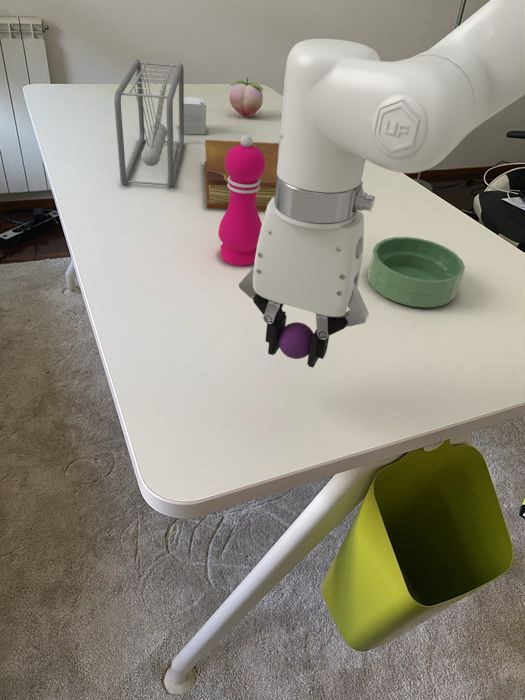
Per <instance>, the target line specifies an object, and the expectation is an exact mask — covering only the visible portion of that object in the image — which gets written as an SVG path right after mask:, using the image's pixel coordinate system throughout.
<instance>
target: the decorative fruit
mask: <svg viewBox="0 0 525 700" xmlns="http://www.w3.org/2000/svg"><path fill="white" fill-rule="evenodd" d="M230 87H232V88H231V89H230V92H229V103H230V105H231V107H232V108H233V109H234V110H235V111H236V112H237V113H238V114H240V115H241V116H243V117H245V118H246V117H249V116H251V115H254V114H256V113H257V112H258V111H259V110H260V109H261V107H262V105H263V101H264V100H263V99H264V96H263V95H264V94H263V92H262V91H264V89H263V87H262V86H261V85H260V84H259V83H258V82H253V81H251V82H250V81H249V78H248V77H246V81H244V80H237V81H234V82H232V83H231V84H230Z"/></svg>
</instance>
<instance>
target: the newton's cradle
mask: <svg viewBox="0 0 525 700" xmlns="http://www.w3.org/2000/svg"><path fill="white" fill-rule="evenodd" d="M142 65H143V66H142ZM147 65H149V66H161V67H170V68H169V69H168V70H163V69H159V71H160V72H167V74H165V79H162V78H156V80H158V81H163V83H157V85H159V86H161V89H160V88H153V90H158V91H159V95H157V94H151V88H150V85H153V83H152V82H151V83H150V82H149V80H152V78H148V76H147V75H149V73H147V71H146V70H149V71H154V69H153V68H152V69H151V68H146V67H147ZM173 68H176V70H175V73H174V75H173V78H172V81H171V84H170V86H169V90H168V93H167V95H166V90H167V83H168V81H169V77H170V75H171V72H172V69H173ZM143 72H144V73H143ZM135 73H136V78H135V80H134V82H133V84H132V86H131V88H130V89H129V92H125V90H126V89H127V87H128V85H129V83H130V81H131V80H132V78H133V77H134V75H135ZM184 74H185V73H184V65H183V63H182V62H179V63H178V64H172V63H171V64H170V63H158V62H147V61H146V62H145V61H140V59H135V60H134V62H133V63H132V65H131V67H130V68H129V69H128V70H127V73H126V75H125V76H124V77H123V79H122V81H121V82H120V84H119V85H118V88H117V89H116V91H115V94H114V98H113V99H114V101H113V102H114V115H115V126H116V127H115V129H116V139H117V140H116V141H117V142H116V143H117V153H118V154H117V155H118V164H119V165H118V166H119V175H120V176H119V177H120V178H119V179H120V182H121V184H122V185H123V186H127V185H128V184H140V185H153V186H154V185H156V186H168V188H170V189H175V187H176V182H177V176H178V171H179V168H180V167H179V166H180V162H181V157H182V153H183V148H184V143H185V134H184V97H185V92H184V91H185V88H184V86H185V84H184V83H185V81H184V80H185V79H184V78H185V77H184V76H185V75H184ZM144 75H145V77H144ZM153 75H157V76H161V74H158V73H153ZM145 79H146V81H145ZM146 84H147V86H148V87H147V86H146ZM143 85H144V87H143ZM177 89H178V141H174V111H173V110H174V108H173V107H174V97H175V95H176V91H177ZM144 90H145V91H144ZM133 91H134V92H135V93H132V92H133ZM148 93H149V94H148ZM122 96H130V97H131V96H132V97H135V98H136V100H137V108H138V128H139V136H138V137H139V138H138V141H137V143H136V146H135V148H134V151H133V153H132V156H131V158H130V161H129V163H128V165H127V168H126V157H125V156H126V155H125V143H124V142H125V141H124V129H123V115H122V114H123V113H122ZM146 98H147V101H146ZM149 98H150V99H151V104H150V100H149ZM153 98H155V99H158V103H157V109H156V111H155V107H154V103H153V102H154V101H153ZM165 99H166V126H165V125H164V124H163V123H162V122H161V121H162V116H163V109H164V103H165ZM144 103H145V107H144ZM147 103H148V105H147ZM151 105H152V108H151ZM148 107H149V110H150V114H149V110H148ZM145 108H146V112H147V116H148V120H147V116H146V112H145ZM152 110H153V113H152ZM153 114H154V117H153ZM150 115H151V118H150ZM153 118H154V119H155V121H154V119H153ZM148 121H149V125H150V129H149V125H148ZM151 121H152V123H151ZM145 124H146V127H147V132H146V128H145ZM152 124H153V125H152ZM147 133H148V137H147ZM144 142H145V144H144ZM165 143H166V145H167V147H166V148H167V150H166V151H167V182H168V183H166V182H152V181H151V182H150V181H136V180H130V179H131V176H132V173H133V171H134V168H135V165H136V163H137V160H138V157H139V155H140V152H141V150H142V147H143V150H142V152H141V156H140V157H141V160H142V162H143V163H144V164H145V165H146V166H148V167H155V166H156V165H158V163H159V162H160V161H161V160H160V159H161V155H162V154H163V153H162V152H163V149H164V144H165ZM143 144H144V146H143ZM174 144H177V148H176V153H175V157H174Z"/></svg>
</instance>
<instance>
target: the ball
mask: <svg viewBox="0 0 525 700" xmlns="http://www.w3.org/2000/svg"><path fill="white" fill-rule="evenodd" d="M313 334H314V331H313V330H312V329H311V327H309V325H307V324H306V323H303V322H298V321H297V322H296V321H295V322H291V323H288V324H286V325H285V327H284V328H283V329H282V330H281V332H280V334H279V338H278V343H279V350H280V352H282V354H283V355H284V356H286V357H288V358H290V359H292V360H300V359H304V358H306V357H308V356H309V349H310V343H311V338H312V336H313Z"/></svg>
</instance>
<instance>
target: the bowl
mask: <svg viewBox="0 0 525 700" xmlns="http://www.w3.org/2000/svg"><path fill="white" fill-rule="evenodd" d="M465 269H466V267H465V264H464V262H463V260H462V259H461V257H460V256H458V254H457V253H456V252H454V251H452V250H451V249H449V248H448V247H446V246H444V245H442V244H440V243H437V242H434V241H431V240H427V239H423V238H418V237H411V236H394V237H393V236H392V237H389V238H385V239H382V240H381V241H379V242H378V243H376V244H375V246H374V247H373V249H372V253H371V257H370V262H369V265H368V270H367V280H368V282H369V284H370V285H371V287H372V288H373V289H374V290H375V291H376V292H377V293H379V294H380V295H381V296H383V297H384V298H387V299H389V300H391V301H393V302H395V303H398V304H402V305H406V306H409V307H416V308H417V307H419V308H437V307H441V306H444V305H447V304H449V303H450V302H451V301H452V300H454V299H455V298H456V295H457V292H458V289H459V286H460V284H461V281H462V279H463V276H464V272H465Z"/></svg>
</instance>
